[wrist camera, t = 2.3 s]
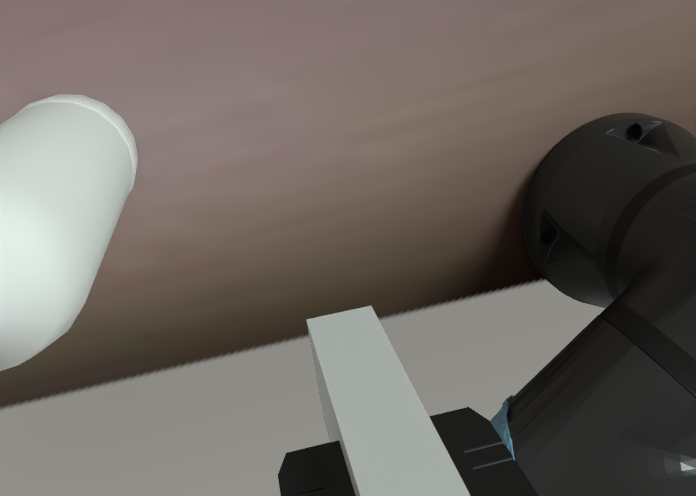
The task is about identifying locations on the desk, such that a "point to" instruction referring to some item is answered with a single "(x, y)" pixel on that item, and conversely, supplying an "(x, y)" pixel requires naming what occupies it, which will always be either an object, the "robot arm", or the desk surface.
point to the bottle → (56, 214)
